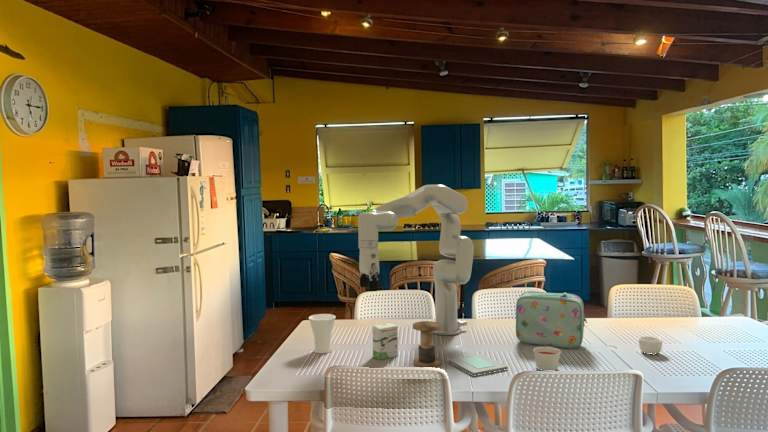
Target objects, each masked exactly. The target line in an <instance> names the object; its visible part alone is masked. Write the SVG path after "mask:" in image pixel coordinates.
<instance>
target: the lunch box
mask: <svg viewBox="0 0 768 432" xmlns="http://www.w3.org/2000/svg"><path fill="white" fill-rule="evenodd" d="M584 308H585V307H584V301H583V299H582V298H581V297H580V296H579V295H576V294H574V293H567V292H566V291H565V292H563V293H561V292H559V293H558V292H545V291H543V292H542V291H535V290H534V291H532V290H530V291H529V290H528V291H524V292H523V293H521V295H519V297H518V298H517V300H516V305H515V336H516V338H517V340H518V341H520V342H521V343H524V344H533V345H540V346H544V347H548V346H553V348H563V347H564V348H565V349H576V348H579V347H580V346H581V345H582V344H583V339H584V331H585V328H584V327H585V323H586V324H587V323H588V321H587V317H585V313H584Z"/></svg>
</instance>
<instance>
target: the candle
mask: <svg viewBox="0 0 768 432" xmlns="http://www.w3.org/2000/svg"><path fill="white" fill-rule="evenodd" d="M561 353H562V352H561V350H560V349H558V348H557V347H548V346H536V347H534V348H533V355H534V361H535V366H536V368H537V367H538V368H539V369H542V370H556V369H557V370H558V368H559V365H560V364H559V363H560V358H561ZM538 368H537V369H538ZM539 369H538V370H539ZM542 370H541V371H542ZM557 370H556V371H557Z"/></svg>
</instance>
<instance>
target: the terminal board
mask: <svg viewBox="0 0 768 432" xmlns="http://www.w3.org/2000/svg"><path fill="white" fill-rule="evenodd" d="M448 362H449V363H448ZM447 363H448V364H450V365H452V364H453V365H452V366H454V365H455V366H457V367H458V368H457V367H456V368H457V369H459V368H460V369H459V370H461V369H462V370H461V371H463V370H464V371H463V372H465V371H466V372H468V373H470V374H472V375H473V376H472V375H471V376H472V377H475V376H474V375H478V374H484V373H489V372H494V371H499V370H504V369H508V365H505V364H503V363H501V362H499V361H498V360H495V359H493V358H491V357H489V356H486V355H484V354H482V353H476V354H470V355H464V356H459V357H454V358H453V357H452V358H448V359H447ZM455 366H454V367H455ZM504 371H505V370H504ZM466 372H465V373H466ZM499 372H500V371H499ZM468 373H467V374H468ZM494 373H495V372H494ZM470 374H469V375H470ZM489 374H490V373H489ZM484 375H485V374H484Z"/></svg>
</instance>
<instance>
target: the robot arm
mask: <svg viewBox="0 0 768 432" xmlns="http://www.w3.org/2000/svg"><path fill="white" fill-rule="evenodd" d="M430 206H432V209H434V211H435V212H436V214H437V216H438V217H439V219H440V222H441V227H440V236H439V245H438V249H439V254H440V255H442V256H444V257H447V258H455V260H452V259H440V260H437V261H436V262H435V263H434V264H433V267H432V277H433V282H434V292H435V293H434V295H435V297H434V299H435V301H434V303H435V305H434V306H435V307H434V308H435V309H434V310H435V311H434V312H435V315H434V316H435V322H437V323H440V324H441V328H440V329H439V330H435V331H433V334H435V335H441V336H455V335H458V334H461V333H462V328H461V327H465V326H467V325H468V323H467V321H466V320H464V321H461V320H458V289H457V286H456V285H465V284H467V283H468V282H469V281H470V279H471V275H472V269H473V262H474V252H475V246H474V243H473V241H472V239H471V238H470V237H468V236H465V235H461V230H462V222H461V219H460V217H459V215H462V214H464V213H465V212H466V211H467V210H468V206H469V203H468V199H467V197H466V196H465V195H463V193H460V192H458V191H457V190H454V189H452V188H451V187H448V186H446V185H444V184H425V185H423V186H420V187H419V188H417V189H415V190H414V191H411V192H409V194H406V195H405V196H403V197H400V198H396V199H394V200H392V201H389V202H385V203H383V204H381V205H378V206H377V207H375V208H373V209H371V210H370V211H363V212H362V211H361V212H360V213H359V214H358V217H357V219H358V221H357V222H358V228H357V229H358V231H357V232H358V249H359V259H358V260H359V261H358V268H359V287H360V288H366V287H367V288H368V291H369V292H377V291H378V280H379V274H380V257H379V256H380V255H379V250H378V249H379V231H385V232H386V231H387V232H389V231H392V230H394V229H395V228H396V227H397V226H398V225H399V219H402V218H409V217H412V216H415V215H416V214H418V213H420V212H422V211H423V210H425V209H426V208H429V207H430Z"/></svg>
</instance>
